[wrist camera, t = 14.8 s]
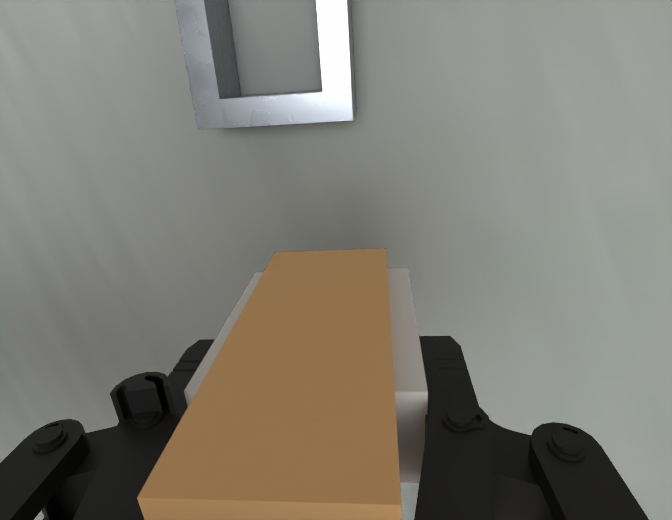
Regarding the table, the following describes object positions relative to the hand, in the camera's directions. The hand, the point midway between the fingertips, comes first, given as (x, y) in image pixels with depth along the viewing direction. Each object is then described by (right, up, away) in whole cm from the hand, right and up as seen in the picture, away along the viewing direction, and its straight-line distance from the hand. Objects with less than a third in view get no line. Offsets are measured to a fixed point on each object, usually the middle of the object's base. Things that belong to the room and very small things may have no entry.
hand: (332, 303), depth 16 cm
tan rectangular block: (0, 0, 0) cm, 0 cm away
